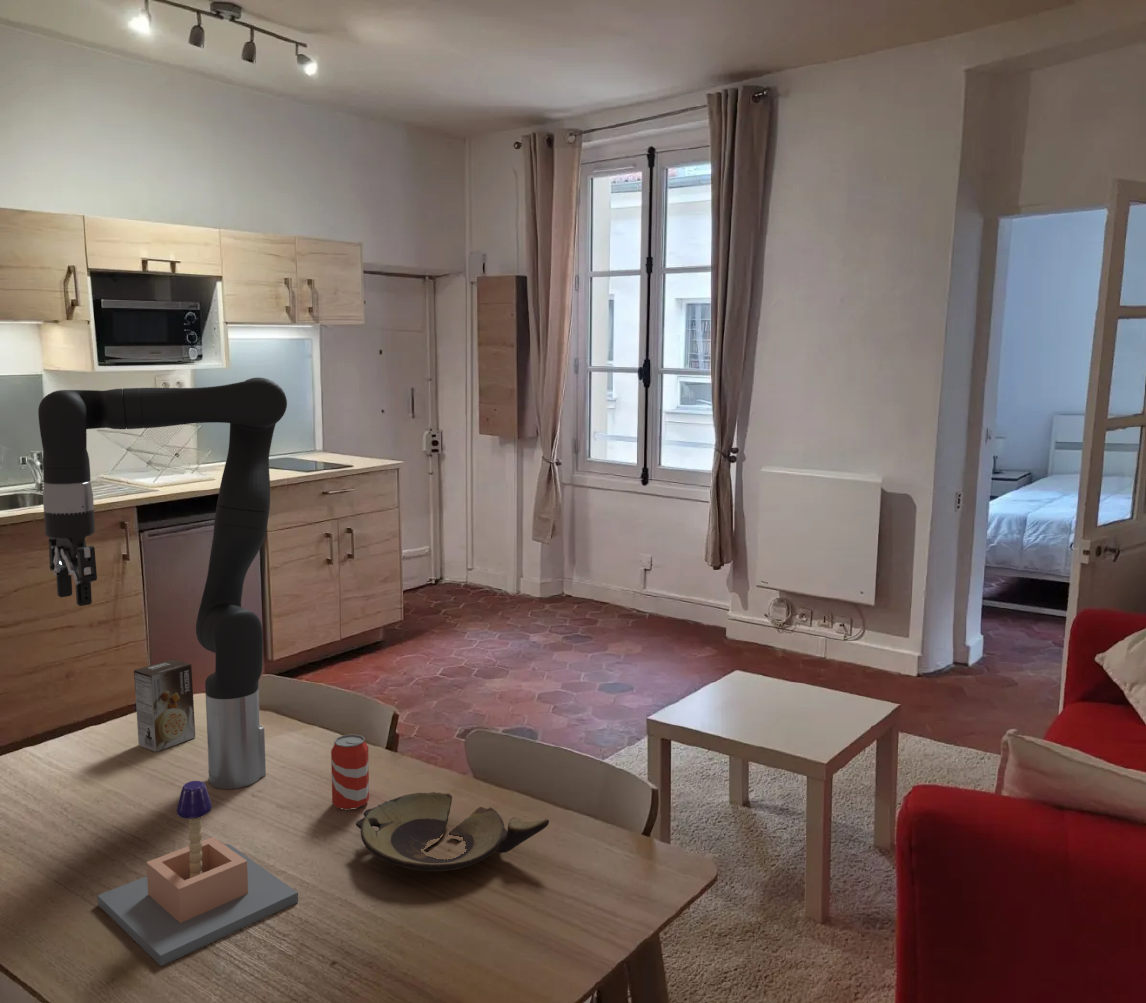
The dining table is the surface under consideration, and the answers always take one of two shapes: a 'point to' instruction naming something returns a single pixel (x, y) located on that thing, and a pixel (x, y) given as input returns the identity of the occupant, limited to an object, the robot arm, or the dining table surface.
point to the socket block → (195, 900)
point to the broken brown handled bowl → (438, 831)
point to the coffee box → (164, 704)
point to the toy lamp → (194, 819)
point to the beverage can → (350, 772)
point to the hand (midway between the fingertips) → (74, 600)
